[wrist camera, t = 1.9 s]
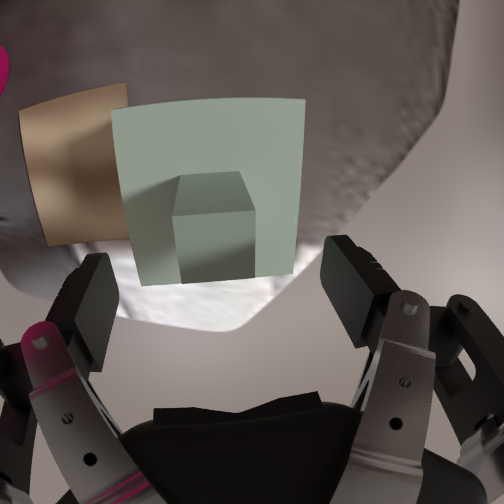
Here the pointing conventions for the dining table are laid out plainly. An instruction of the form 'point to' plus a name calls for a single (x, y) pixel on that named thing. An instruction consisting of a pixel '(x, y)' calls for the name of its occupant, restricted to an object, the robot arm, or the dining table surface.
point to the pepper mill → (3, 68)
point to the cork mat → (75, 165)
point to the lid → (211, 186)
